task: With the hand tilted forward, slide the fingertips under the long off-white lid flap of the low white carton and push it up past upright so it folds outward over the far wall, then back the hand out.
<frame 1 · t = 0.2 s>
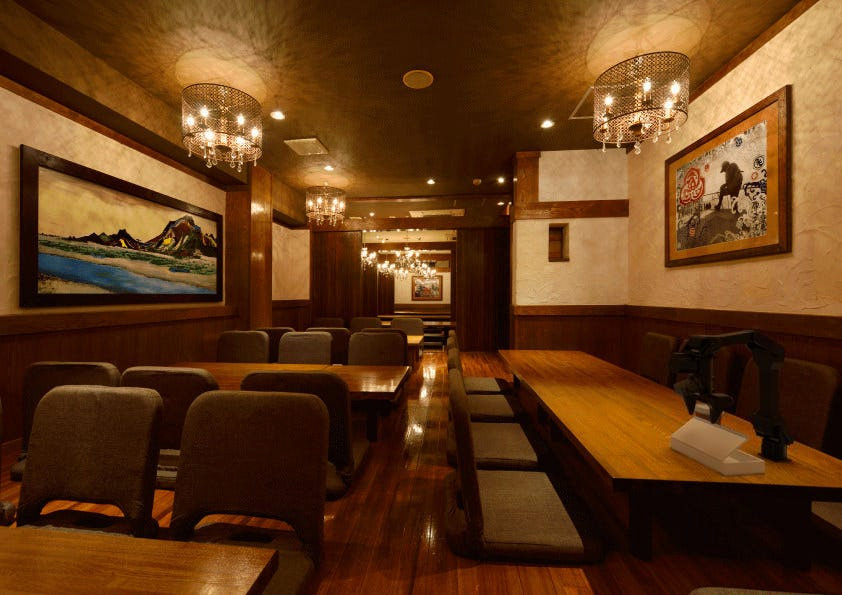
hand: (701, 419, 128), 14 cm above the table, tool pointing down, fingers open, 9 cm apart
carton: (713, 459, 130), on the table
flap: (707, 436, 130), point 8 cm above the table, hinge at 35.0°
disposable coffee cup: (708, 437, 151), on the table
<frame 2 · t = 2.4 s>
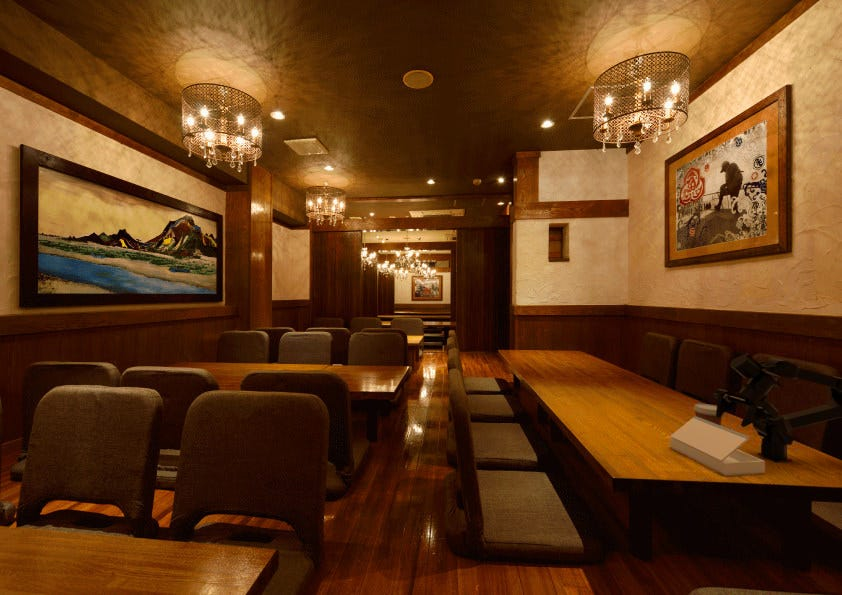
hand: (729, 421, 131), 13 cm above the table, tool tilted 45°, fingers open, 9 cm apart
nothing on the table moved.
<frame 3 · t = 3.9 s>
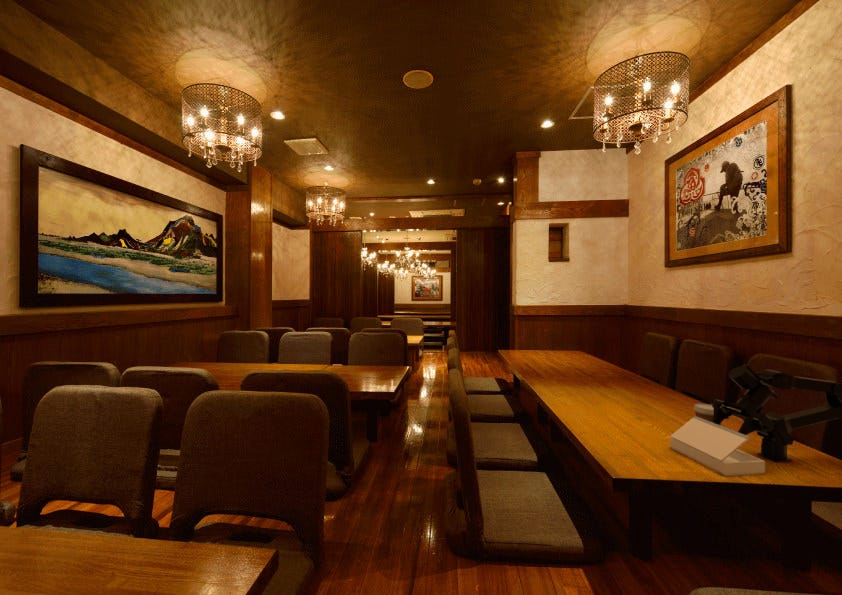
hand: (724, 432, 130), 9 cm above the table, tool tilted 45°, fingers open, 9 cm apart
nothing on the table moved.
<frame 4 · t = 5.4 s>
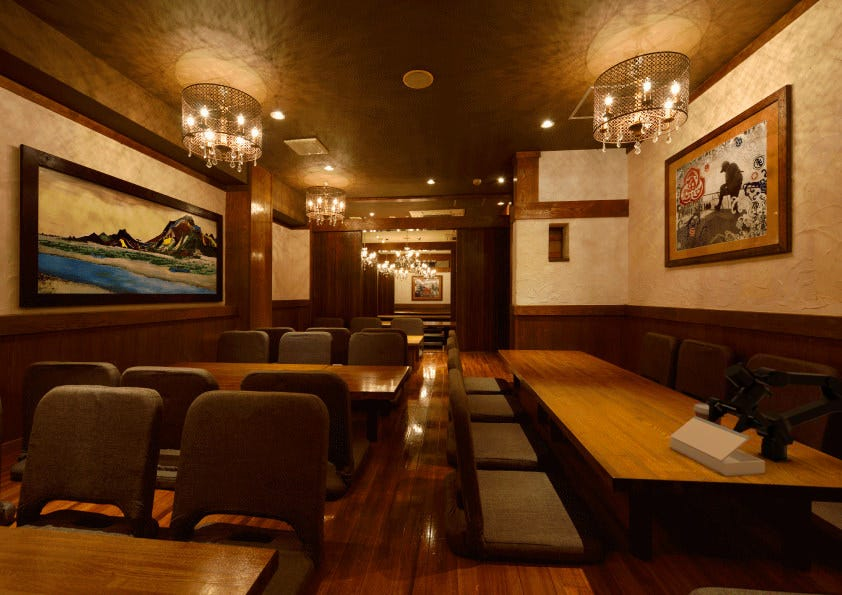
hand: (719, 430, 130), 10 cm above the table, tool tilted 45°
flap: (707, 436, 130), point 8 cm above the table, hinge at 35.0°, touching gripper
everything else where it was.
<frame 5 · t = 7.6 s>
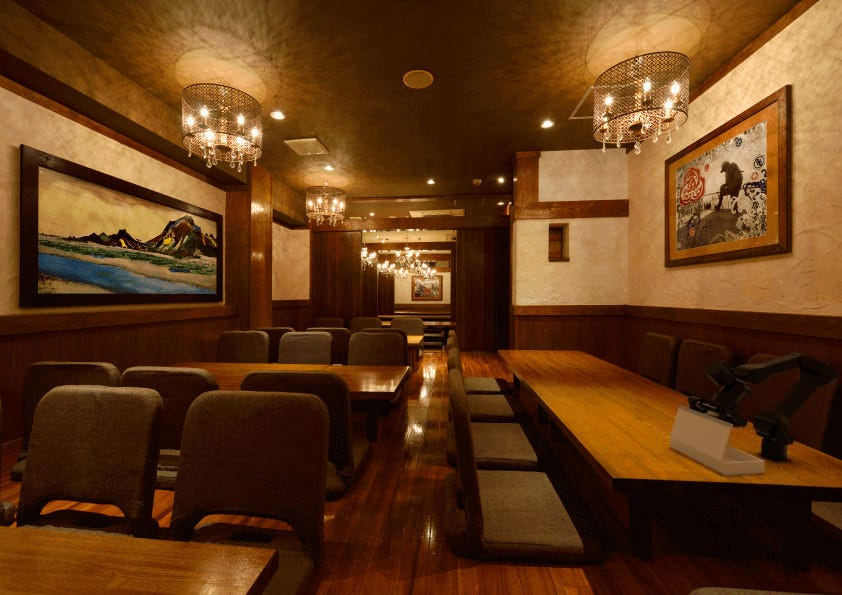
hand: (699, 429, 130), 11 cm above the table, tool tilted 45°
flap: (698, 431, 129), point 10 cm above the table, hinge at 71.8°, touching gripper
everything else where it was.
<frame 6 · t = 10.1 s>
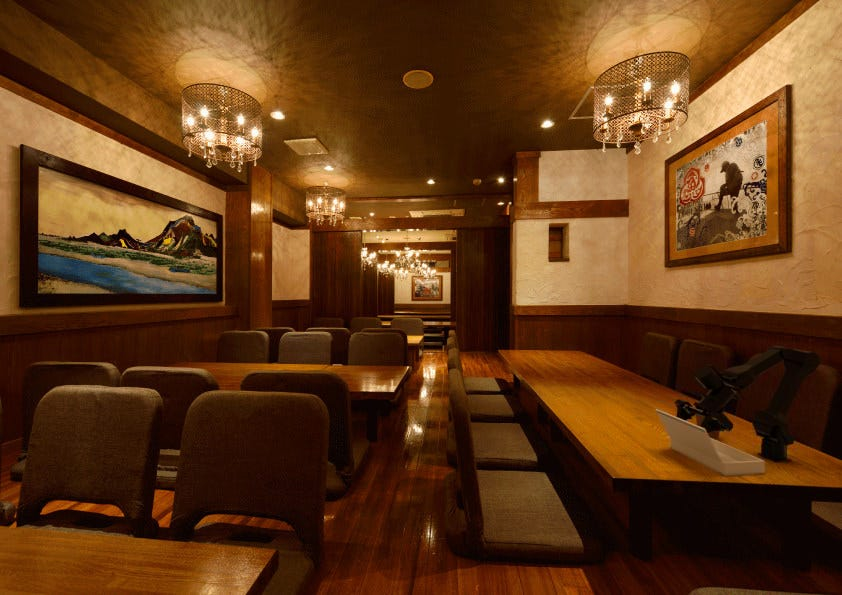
hand: (685, 432, 129), 10 cm above the table, tool tilted 45°, fingers closed on flap, 8 cm apart
flap: (686, 433, 129), point 9 cm above the table, hinge at 119.2°, touching gripper
everything else where it was.
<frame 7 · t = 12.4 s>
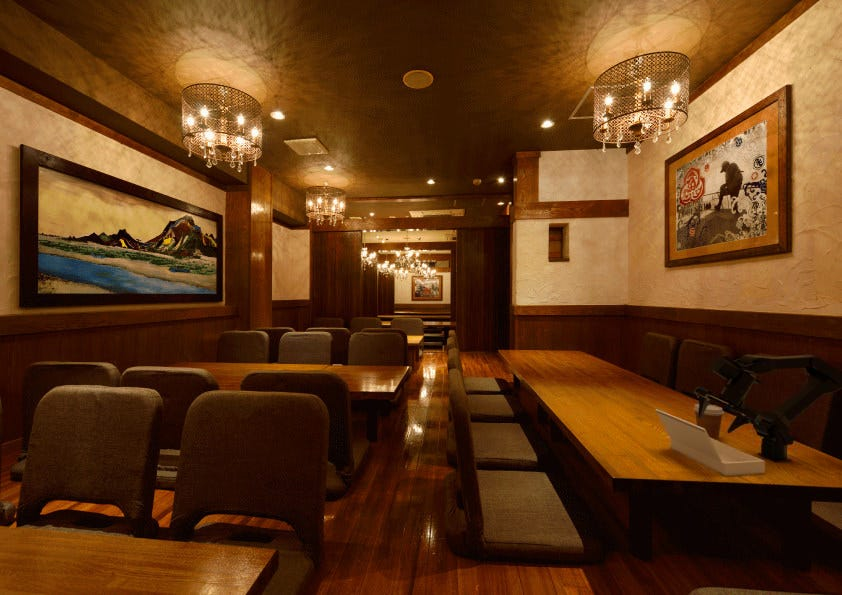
hand: (713, 425, 132), 11 cm above the table, tool tilted 35°, fingers open, 9 cm apart
flap: (686, 433, 129), point 9 cm above the table, hinge at 119.3°
everything else where it was.
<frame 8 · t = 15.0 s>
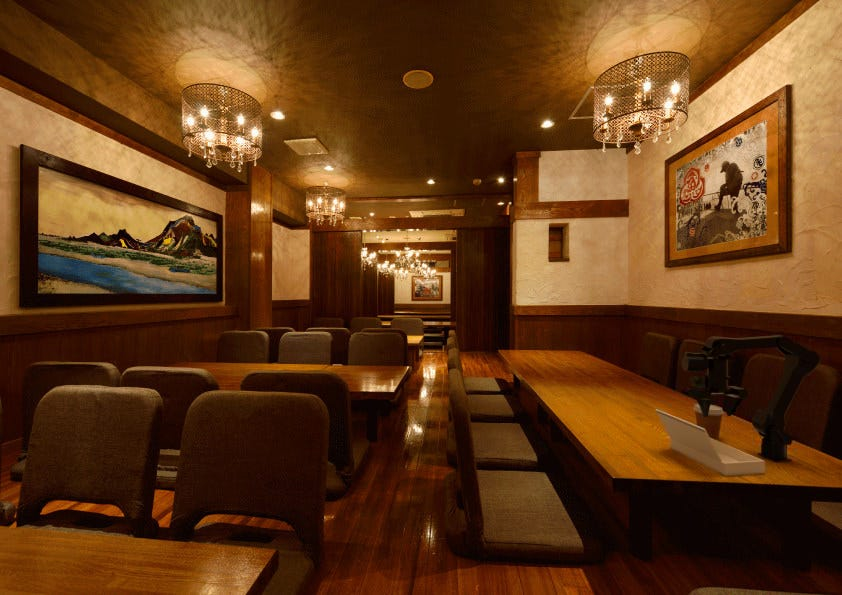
hand: (717, 416, 136), 13 cm above the table, tool pointing down, fingers open, 9 cm apart
nothing on the table moved.
at the end: flap at +119° (first picture: +35°) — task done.
